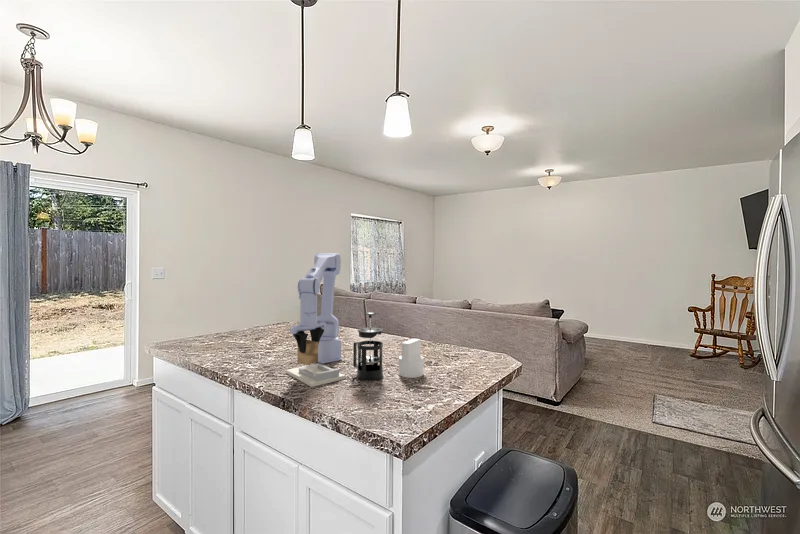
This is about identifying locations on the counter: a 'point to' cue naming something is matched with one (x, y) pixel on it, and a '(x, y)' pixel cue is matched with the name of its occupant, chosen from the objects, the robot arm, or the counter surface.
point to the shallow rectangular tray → (315, 374)
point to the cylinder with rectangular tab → (411, 359)
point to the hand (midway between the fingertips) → (308, 350)
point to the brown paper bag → (309, 353)
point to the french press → (370, 365)
